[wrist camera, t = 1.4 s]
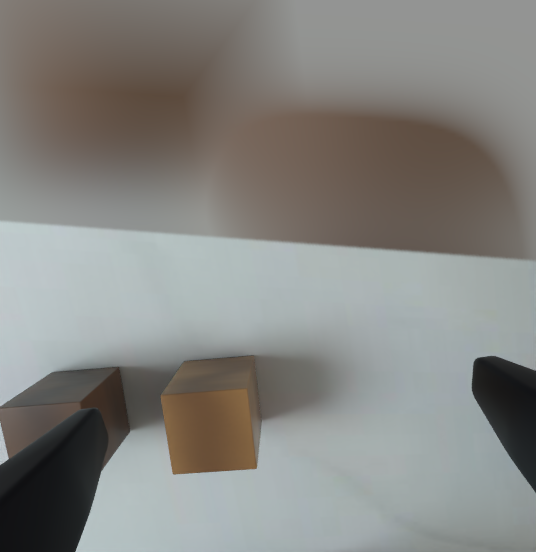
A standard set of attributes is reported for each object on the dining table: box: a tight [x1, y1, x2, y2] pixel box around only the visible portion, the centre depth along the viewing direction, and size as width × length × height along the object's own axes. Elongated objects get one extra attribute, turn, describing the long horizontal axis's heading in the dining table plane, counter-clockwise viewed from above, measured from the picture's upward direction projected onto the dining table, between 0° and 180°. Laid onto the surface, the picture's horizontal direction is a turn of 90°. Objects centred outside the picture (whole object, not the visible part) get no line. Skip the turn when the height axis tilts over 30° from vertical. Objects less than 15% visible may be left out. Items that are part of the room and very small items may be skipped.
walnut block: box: [0, 367, 130, 471], centre depth 23 cm, size 5×5×5 cm
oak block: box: [161, 356, 262, 474], centre depth 23 cm, size 5×5×5 cm
